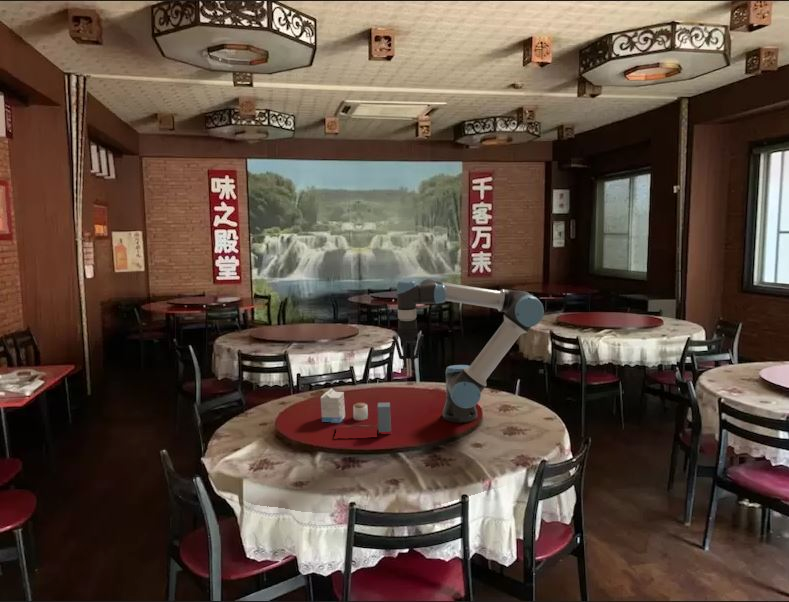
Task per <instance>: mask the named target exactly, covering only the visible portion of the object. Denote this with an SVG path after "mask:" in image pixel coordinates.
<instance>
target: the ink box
mask: <svg viewBox="0 0 789 602" xmlns="http://www.w3.org/2000/svg"><path fill="white" fill-rule="evenodd" d="M344 395H345V392H344V391H335V390H334V389H333V388H332V387H331V388H330V389H329V390H328V391H326V392H324V393H323V394H322V395H321V396H320V410H321V422H331V423H330V424H341V423H340V422H342V421H343V420H344V419H345V418H346V410H345V409H346V407H345V396H344Z"/></svg>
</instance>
